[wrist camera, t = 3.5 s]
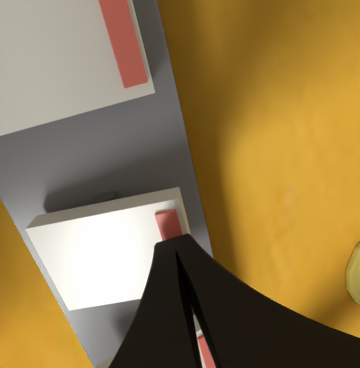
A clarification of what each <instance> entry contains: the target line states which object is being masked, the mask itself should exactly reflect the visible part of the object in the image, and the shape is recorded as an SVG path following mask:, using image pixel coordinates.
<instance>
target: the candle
mask: <svg viewBox="0 0 360 368" xmlns="http://www.w3.org/2000/svg"><path fill="white" fill-rule="evenodd" d="M346 289H347V290H348V292H349V294H350V295H351V297H352V298H353V300H354V301H355V302H356V303H357V304H359V305H360V242H359V243H358V244H357V245H356V247H355V249H354V251H353V253H352V256H351V258H350V261H349V263H348V265H347V268H346Z"/></svg>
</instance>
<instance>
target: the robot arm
mask: <svg viewBox="0 0 360 368" xmlns="http://www.w3.org/2000/svg"><path fill="white" fill-rule="evenodd" d="M191 306H192V307H191ZM192 308H193V311H194V313H195V316H196V318H197V321H198V323H199V326H200V328H201V331H202V333H203V336H204V339H205V341H206V344H207V346H208V349H209V351H210V354H211V356H212V359H213V361H214V364H215V367H216V368H360V338H358V337H355V336H353V335H350V334H347V333H344V332H342V331H339V330H336V329H333V328H330V327H328V326H325V325H323V324H321V323H318V322H316V321H314V320H311V319H309V318H307V317H305V316H303V315H301V314H299V313H297V312H295V311H293V310H291V309H289V308H287V307H285V306H283V305H281V304H279V303H277V302H275V301H273V300H271V299H270V298H268V297H266V296H264V295H263V294H261V293H259V292H258V291H256V290H255V289H253V288H251V287H250V286H248V285H247V284H245V283H244V282H242V281H241V280H240V279H238V278H237V277H236V276H234V275H233V274H232V273H230V272H229V271H228V270H226V269H225V268H224V267H223V266H221V265H220V264H219V263H218V262H217V261H216V260H215V259H213V258H212V257H211V256H210V255H209V254H208V253H207V252H206V251H205V250H204V249H203V248H202V247H201V246H200V245H199V244H198V243H197V242H196V241H195V239H194V238H193V237H192V235H190V234H188V233H187V234H184V235H180V236H177V237H174V238H170V239H167V240H164V241H160V242H157V243H156V244H155V246H154V253H153V259H152V264H151V268H150V272H149V275H148V279H147V283H146V286H145V289H144V292H143V295H142V297H141V300H140V303H139V306H138V308H137V311H136V313H135V316H134V318H133V320H132V323H131V325H130V327H129V329H128V331H127V333H126V336H125V337H124V339H123V341H122V343H121V345H120V347H119V349H118V351H117V353H116V355H115V357H114V358H113V360H112V362H111V364H110V366H109V367H108V368H203V367H202V362H201V356H200V351H199V345H198V340H197V334H196V329H195V323H194V318H193V312H192Z"/></svg>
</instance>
